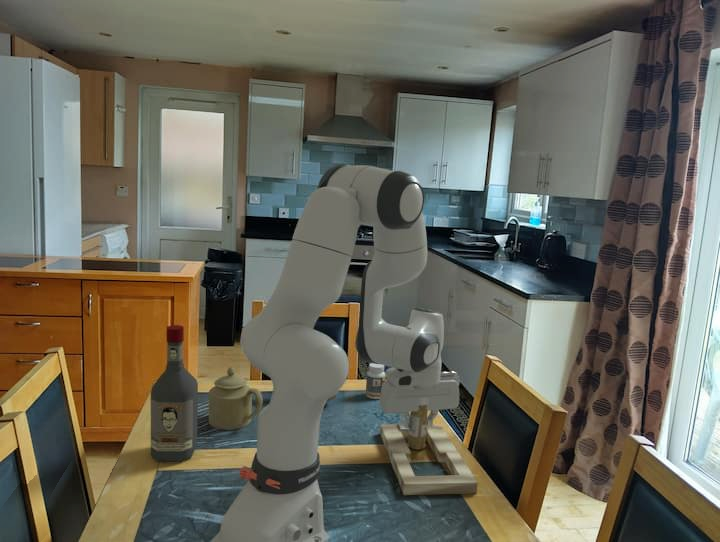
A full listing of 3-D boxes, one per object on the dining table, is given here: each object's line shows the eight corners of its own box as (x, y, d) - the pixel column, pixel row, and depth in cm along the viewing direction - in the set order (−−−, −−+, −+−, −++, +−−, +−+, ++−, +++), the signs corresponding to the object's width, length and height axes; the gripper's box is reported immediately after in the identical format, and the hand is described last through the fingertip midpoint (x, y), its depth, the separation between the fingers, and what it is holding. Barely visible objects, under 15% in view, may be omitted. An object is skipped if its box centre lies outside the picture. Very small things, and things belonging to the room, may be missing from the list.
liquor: (159, 443, 128) (159, 321, 124) (198, 444, 129) (200, 322, 125) (148, 463, 119) (147, 332, 115) (190, 463, 120) (192, 333, 116)
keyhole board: (476, 493, 116) (477, 479, 115) (403, 495, 113) (404, 481, 113) (439, 433, 143) (440, 422, 142) (379, 433, 140) (380, 422, 140)
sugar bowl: (269, 415, 148) (271, 362, 145) (260, 433, 137) (261, 376, 134) (216, 410, 148) (217, 358, 146) (202, 428, 137) (203, 372, 135)
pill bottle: (385, 399, 163) (388, 368, 161) (367, 399, 162) (369, 368, 160) (382, 392, 169) (384, 362, 167) (363, 392, 168) (365, 361, 166)
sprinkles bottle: (428, 449, 133) (432, 397, 131) (411, 451, 132) (415, 398, 130) (420, 440, 138) (425, 390, 135) (404, 442, 136) (408, 391, 134)
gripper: (454, 366, 138) (449, 417, 140) (379, 370, 132) (375, 424, 134) (466, 375, 132) (461, 428, 134) (388, 379, 126) (384, 435, 128)
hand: (417, 426), depth 134 cm, fingers closed on sprinkles bottle, 4 cm apart
